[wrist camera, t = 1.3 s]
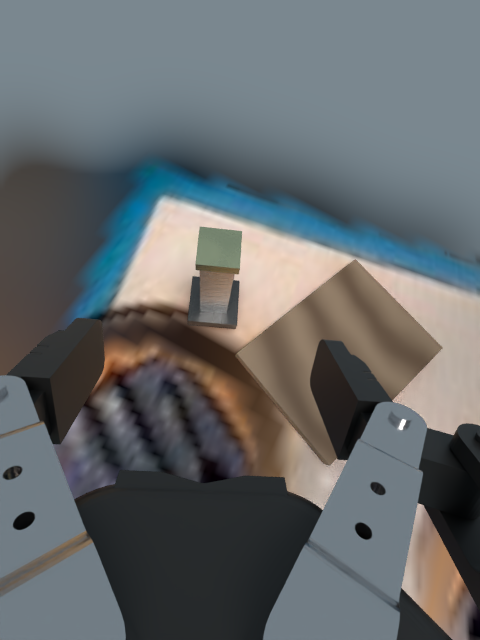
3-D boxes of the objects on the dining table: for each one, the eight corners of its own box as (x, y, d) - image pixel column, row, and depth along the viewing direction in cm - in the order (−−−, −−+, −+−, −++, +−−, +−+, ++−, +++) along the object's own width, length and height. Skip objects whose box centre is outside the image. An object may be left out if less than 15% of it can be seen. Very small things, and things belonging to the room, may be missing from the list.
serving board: (350, 264, 43) (355, 259, 42) (434, 350, 40) (442, 347, 39) (235, 356, 37) (236, 353, 36) (324, 464, 35) (329, 465, 33)
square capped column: (193, 281, 40) (189, 215, 28) (238, 286, 40) (254, 222, 28) (188, 324, 38) (181, 273, 26) (235, 328, 38) (251, 280, 26)
